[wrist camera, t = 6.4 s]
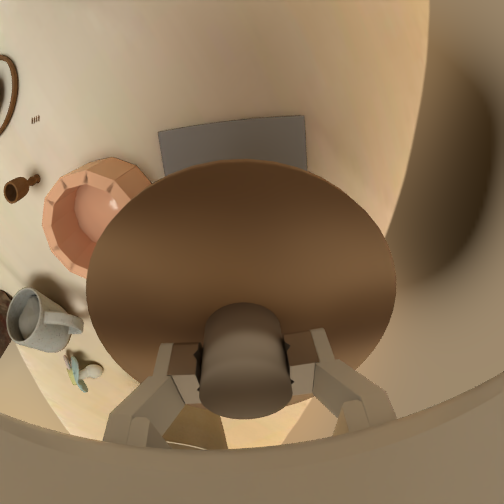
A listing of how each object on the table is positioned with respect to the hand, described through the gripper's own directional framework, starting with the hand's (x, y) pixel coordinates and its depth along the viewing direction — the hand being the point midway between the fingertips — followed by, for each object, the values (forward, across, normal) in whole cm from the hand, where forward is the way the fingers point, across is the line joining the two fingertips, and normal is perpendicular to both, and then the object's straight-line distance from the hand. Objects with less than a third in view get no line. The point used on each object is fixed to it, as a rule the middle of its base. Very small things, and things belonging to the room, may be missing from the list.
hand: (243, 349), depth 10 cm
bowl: (+21, +14, 0) cm, 25 cm away
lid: (+3, 0, 0) cm, 3 cm away
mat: (+21, 0, 0) cm, 21 cm away
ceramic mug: (+21, +27, +12) cm, 36 cm away
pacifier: (+22, +31, +25) cm, 46 cm away
